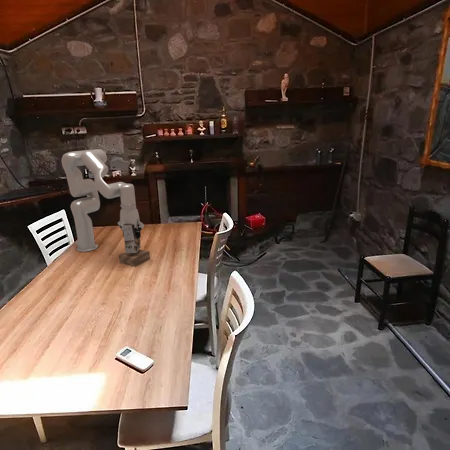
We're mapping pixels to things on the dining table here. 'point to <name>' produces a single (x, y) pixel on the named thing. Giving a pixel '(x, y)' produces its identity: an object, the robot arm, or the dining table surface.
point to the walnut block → (134, 258)
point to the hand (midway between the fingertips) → (132, 237)
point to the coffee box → (131, 239)
